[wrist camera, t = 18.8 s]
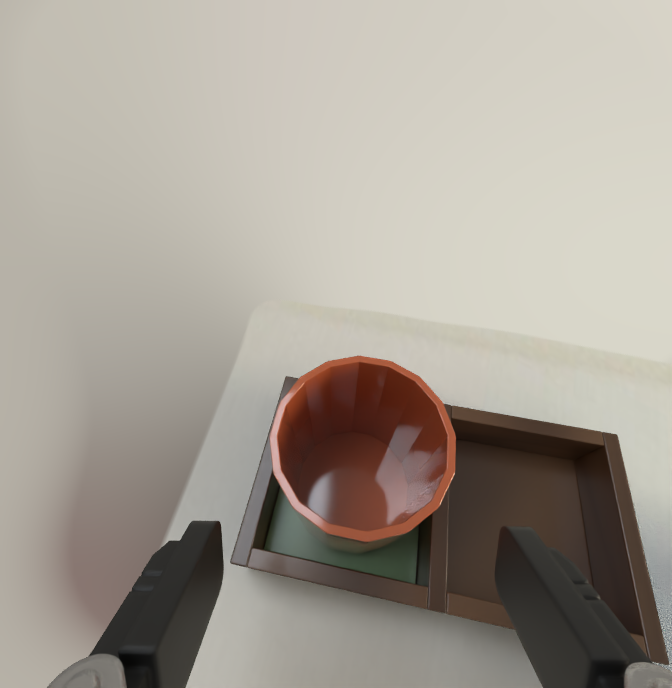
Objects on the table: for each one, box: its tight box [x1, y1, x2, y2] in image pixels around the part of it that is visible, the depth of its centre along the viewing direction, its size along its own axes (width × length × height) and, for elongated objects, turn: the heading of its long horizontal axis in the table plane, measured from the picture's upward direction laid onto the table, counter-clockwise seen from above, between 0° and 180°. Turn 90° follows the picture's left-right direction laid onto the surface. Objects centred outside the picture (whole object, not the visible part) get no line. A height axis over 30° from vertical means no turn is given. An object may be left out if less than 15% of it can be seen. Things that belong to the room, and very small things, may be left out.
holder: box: [230, 376, 669, 665], centre depth 19 cm, size 18×10×4 cm, turn 79°
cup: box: [269, 356, 456, 555], centre depth 17 cm, size 7×7×9 cm
